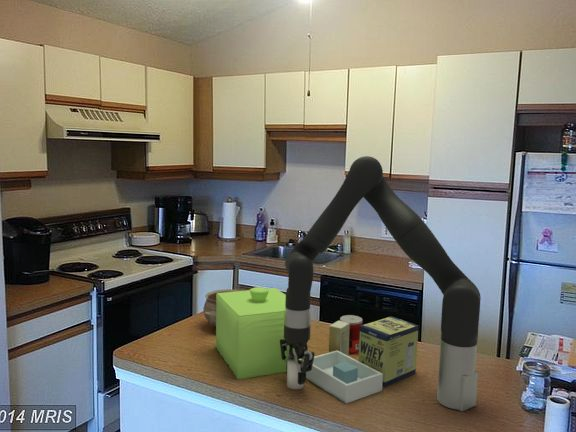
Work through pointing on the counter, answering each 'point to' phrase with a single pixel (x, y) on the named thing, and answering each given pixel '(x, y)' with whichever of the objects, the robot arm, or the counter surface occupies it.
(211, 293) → the cooking pot
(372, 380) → the tote
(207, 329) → the counter surface
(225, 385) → the counter surface
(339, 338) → the skincare box
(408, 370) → the protein box
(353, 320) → the canned food
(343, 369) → the cube
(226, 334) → the canister
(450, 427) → the counter surface
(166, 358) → the counter surface
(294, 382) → the white piece
